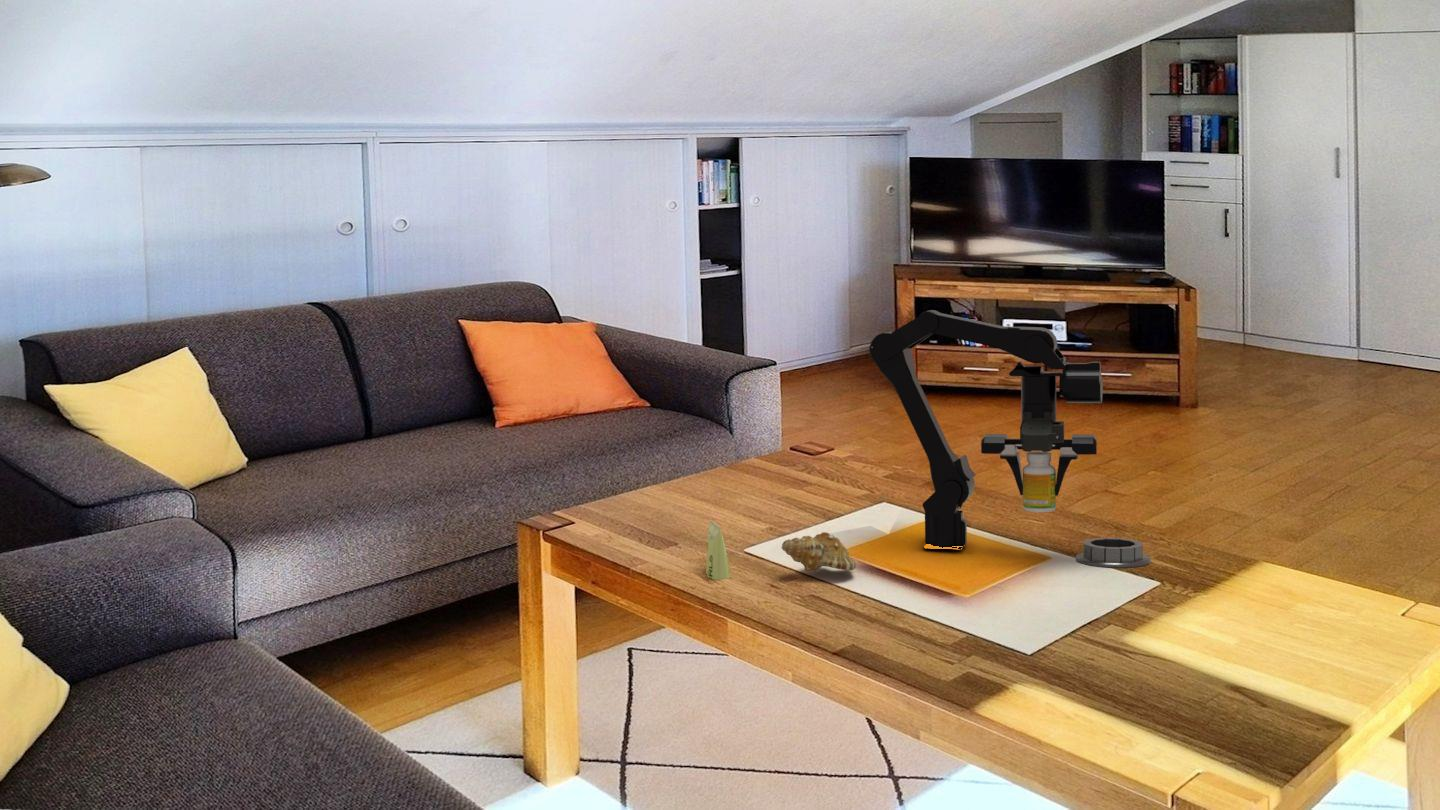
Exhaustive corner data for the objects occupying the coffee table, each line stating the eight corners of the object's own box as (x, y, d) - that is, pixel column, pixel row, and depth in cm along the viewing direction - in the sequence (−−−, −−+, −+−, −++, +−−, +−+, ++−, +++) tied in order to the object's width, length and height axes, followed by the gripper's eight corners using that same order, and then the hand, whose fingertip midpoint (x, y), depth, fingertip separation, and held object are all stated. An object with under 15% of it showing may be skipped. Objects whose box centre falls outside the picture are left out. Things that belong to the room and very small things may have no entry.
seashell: (826, 595, 215) (793, 543, 214) (803, 596, 222) (771, 545, 221) (867, 562, 219) (835, 511, 218) (842, 563, 226) (811, 514, 225)
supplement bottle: (1056, 513, 224) (1056, 454, 223) (1023, 512, 225) (1022, 454, 224) (1055, 507, 229) (1054, 450, 228) (1022, 507, 230) (1022, 450, 229)
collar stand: (1074, 566, 220) (1074, 549, 220) (1076, 552, 232) (1076, 535, 232) (1151, 569, 217) (1151, 551, 217) (1149, 554, 229) (1149, 537, 228)
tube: (697, 639, 223) (691, 523, 221) (715, 632, 227) (710, 518, 225) (724, 644, 220) (719, 526, 218) (742, 636, 224) (737, 521, 222)
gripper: (977, 407, 220) (978, 501, 222) (1096, 407, 215) (1096, 504, 217) (983, 401, 231) (984, 491, 232) (1096, 401, 226) (1096, 493, 227)
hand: (1039, 495), depth 227 cm, fingers closed on supplement bottle, 5 cm apart
